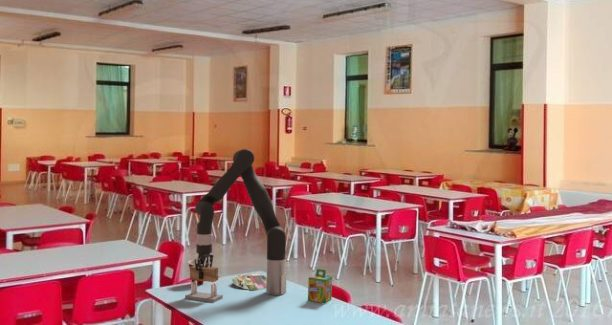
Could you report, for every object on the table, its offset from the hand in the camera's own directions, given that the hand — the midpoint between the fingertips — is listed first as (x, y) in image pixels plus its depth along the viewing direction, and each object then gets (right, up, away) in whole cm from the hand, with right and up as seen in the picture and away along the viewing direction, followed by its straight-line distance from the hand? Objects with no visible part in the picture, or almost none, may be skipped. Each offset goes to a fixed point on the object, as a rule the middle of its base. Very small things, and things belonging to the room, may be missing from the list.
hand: (203, 277), depth 290 cm
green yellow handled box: (+56, -11, +1) cm, 57 cm away
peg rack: (0, -10, 0) cm, 10 cm away
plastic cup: (-8, -9, +27) cm, 29 cm away
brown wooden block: (0, -1, 0) cm, 1 cm away
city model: (+22, -10, +28) cm, 36 cm away
